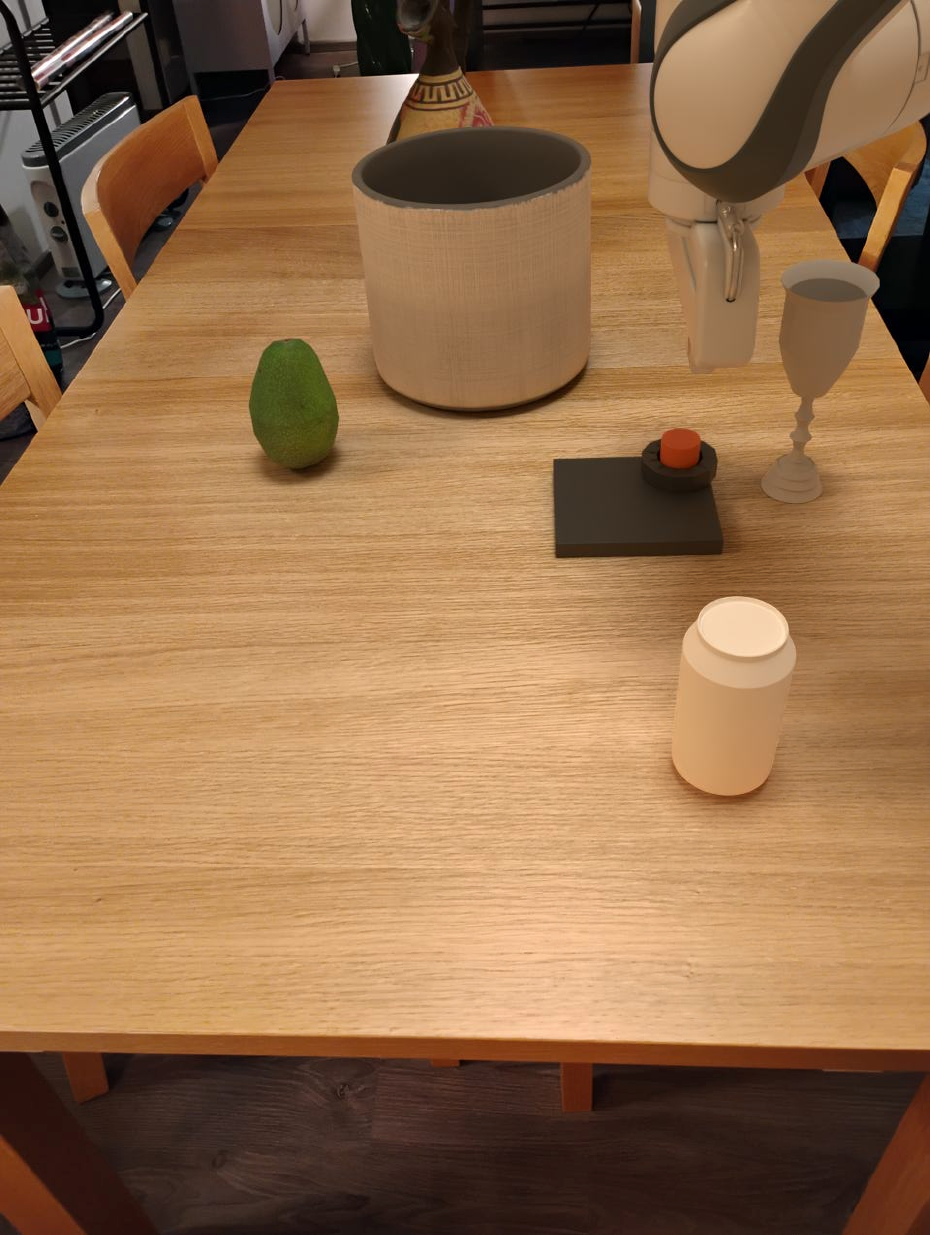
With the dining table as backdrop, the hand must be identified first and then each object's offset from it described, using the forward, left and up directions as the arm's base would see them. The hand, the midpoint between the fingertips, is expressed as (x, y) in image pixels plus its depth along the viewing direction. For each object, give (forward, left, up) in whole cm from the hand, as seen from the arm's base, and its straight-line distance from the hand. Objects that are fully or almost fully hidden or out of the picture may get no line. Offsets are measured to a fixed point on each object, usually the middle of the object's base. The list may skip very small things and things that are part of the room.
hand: (700, 364), depth 74 cm
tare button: (0, -3, -11) cm, 11 cm away
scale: (+4, 0, -13) cm, 14 cm away
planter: (+18, -26, -13) cm, 34 cm away
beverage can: (+1, +27, -13) cm, 30 cm away
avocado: (+34, -9, -13) cm, 37 cm away
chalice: (-9, -3, -13) cm, 16 cm away
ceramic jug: (+23, -58, -13) cm, 64 cm away
